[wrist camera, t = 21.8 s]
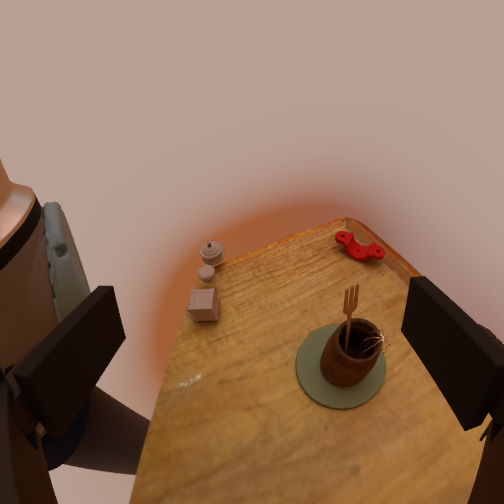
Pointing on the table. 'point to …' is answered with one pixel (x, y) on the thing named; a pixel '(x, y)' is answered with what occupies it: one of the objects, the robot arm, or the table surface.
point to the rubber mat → (321, 387)
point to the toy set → (206, 300)
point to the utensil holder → (351, 347)
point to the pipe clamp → (359, 247)
